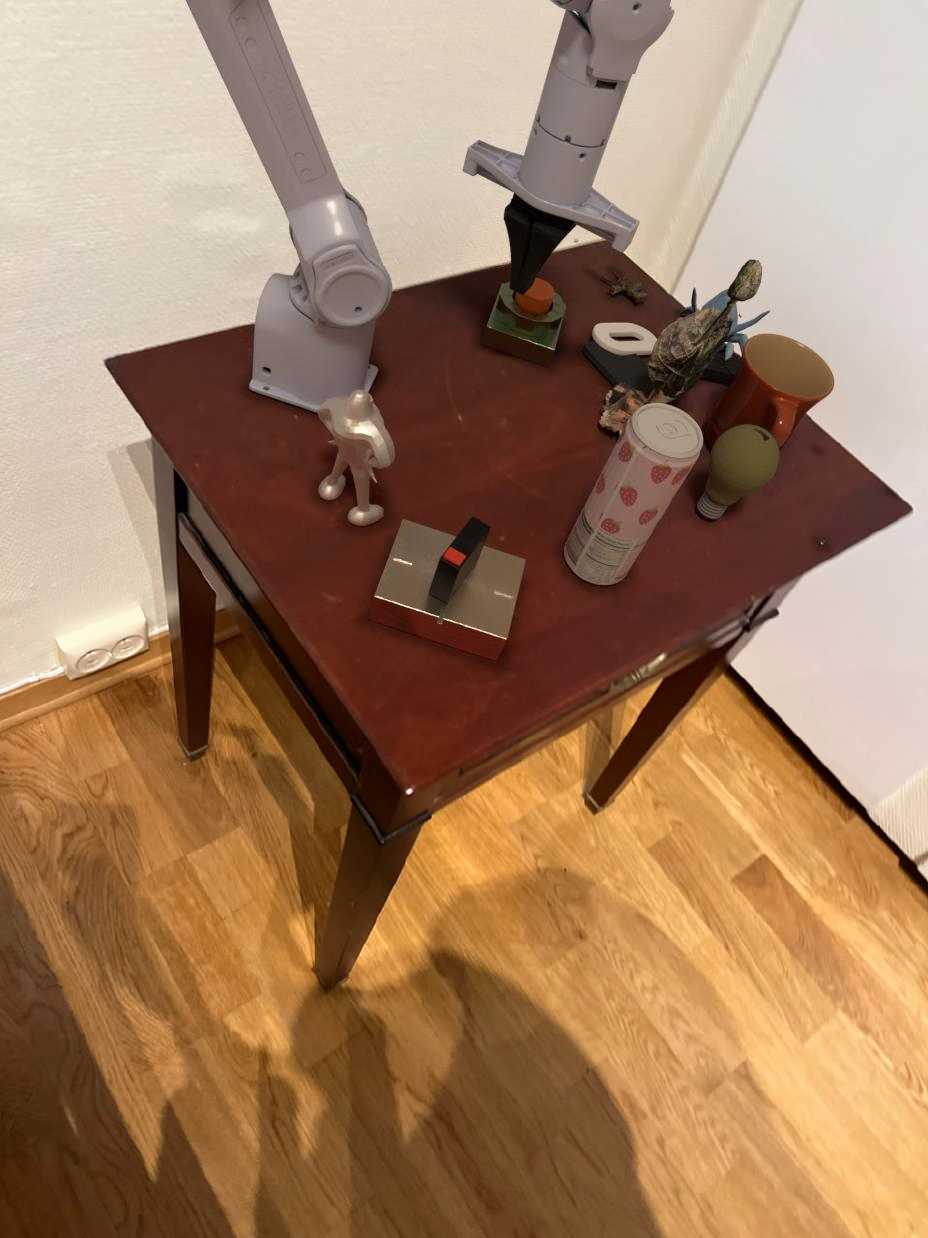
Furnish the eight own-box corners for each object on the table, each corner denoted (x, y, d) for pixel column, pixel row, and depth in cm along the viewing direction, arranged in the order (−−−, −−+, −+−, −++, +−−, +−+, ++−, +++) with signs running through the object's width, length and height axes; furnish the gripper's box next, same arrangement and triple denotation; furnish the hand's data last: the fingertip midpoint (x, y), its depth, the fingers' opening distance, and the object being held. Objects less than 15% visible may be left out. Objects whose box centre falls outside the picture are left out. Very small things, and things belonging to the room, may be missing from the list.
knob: (459, 550, 66) (473, 513, 63) (478, 560, 66) (492, 524, 63) (428, 592, 63) (440, 556, 60) (447, 603, 63) (460, 567, 60)
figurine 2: (715, 328, 100) (763, 275, 94) (737, 404, 94) (790, 353, 88) (648, 299, 96) (694, 242, 90) (667, 377, 90) (717, 321, 84)
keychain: (617, 334, 91) (678, 397, 87) (615, 340, 92) (675, 402, 88) (582, 343, 89) (642, 408, 85) (579, 349, 89) (640, 413, 85)
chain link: (610, 351, 88) (585, 322, 90) (608, 356, 88) (583, 327, 90) (667, 349, 92) (641, 322, 94) (665, 354, 92) (639, 326, 95)
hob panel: (365, 626, 64) (371, 601, 61) (398, 537, 69) (405, 511, 67) (495, 668, 64) (506, 645, 62) (517, 576, 70) (528, 552, 67)
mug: (695, 406, 88) (743, 321, 80) (775, 432, 89) (831, 351, 81) (690, 486, 81) (743, 402, 73) (778, 514, 82) (840, 434, 74)
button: (511, 307, 85) (516, 291, 83) (517, 287, 87) (522, 272, 86) (546, 319, 85) (551, 304, 84) (551, 299, 87) (557, 284, 86)
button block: (481, 344, 86) (491, 310, 83) (496, 300, 91) (506, 266, 88) (547, 367, 87) (560, 334, 83) (559, 322, 91) (572, 289, 88)
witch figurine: (661, 288, 96) (655, 303, 98) (591, 235, 102) (586, 250, 103) (628, 293, 94) (622, 309, 95) (558, 238, 99) (553, 254, 100)
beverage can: (638, 562, 74) (720, 432, 62) (605, 599, 71) (684, 469, 59) (584, 523, 75) (654, 388, 63) (549, 558, 72) (616, 423, 60)
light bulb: (741, 509, 81) (798, 429, 73) (727, 547, 78) (785, 468, 70) (686, 482, 81) (737, 400, 73) (670, 519, 78) (722, 437, 70)
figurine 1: (393, 520, 70) (421, 407, 61) (356, 545, 68) (379, 431, 58) (331, 468, 72) (349, 350, 63) (293, 490, 70) (306, 372, 60)
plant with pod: (702, 419, 87) (821, 246, 71) (640, 468, 81) (754, 291, 65) (641, 369, 89) (743, 189, 73) (576, 413, 83) (672, 227, 66)
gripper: (676, 151, 66) (611, 304, 77) (509, 69, 67) (469, 230, 78) (645, 185, 62) (581, 342, 72) (468, 96, 63) (431, 263, 74)
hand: (520, 286), depth 75 cm, fingers closed
